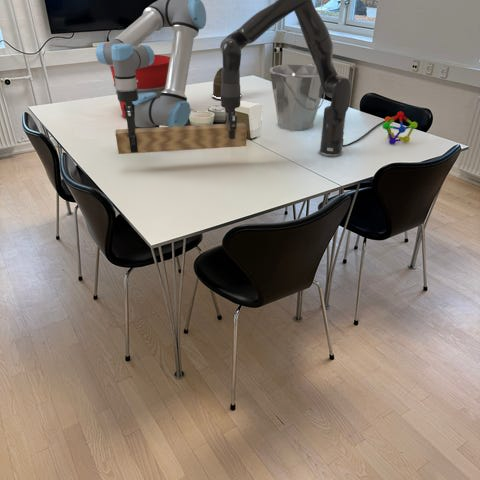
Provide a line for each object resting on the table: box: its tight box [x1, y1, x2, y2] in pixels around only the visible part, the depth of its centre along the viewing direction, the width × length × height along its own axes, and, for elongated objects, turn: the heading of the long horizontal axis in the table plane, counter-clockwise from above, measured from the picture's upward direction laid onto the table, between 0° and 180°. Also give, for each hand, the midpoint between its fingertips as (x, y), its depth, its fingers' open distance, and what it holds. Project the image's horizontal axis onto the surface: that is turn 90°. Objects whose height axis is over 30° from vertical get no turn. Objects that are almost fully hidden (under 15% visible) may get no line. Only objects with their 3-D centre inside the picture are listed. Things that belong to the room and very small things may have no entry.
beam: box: [115, 122, 248, 155], centre depth 177 cm, size 51×5×8 cm, turn 101°
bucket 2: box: [269, 63, 326, 131], centre depth 226 cm, size 30×30×28 cm
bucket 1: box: [105, 54, 170, 120], centre depth 240 cm, size 35×35×30 cm
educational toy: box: [382, 110, 418, 145], centre depth 207 cm, size 16×13×15 cm
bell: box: [212, 67, 242, 97], centre depth 278 cm, size 19×26×20 cm
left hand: (134, 149), depth 176 cm, fingers closed on beam, 5 cm apart
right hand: (230, 136), depth 181 cm, fingers closed on beam, 5 cm apart
